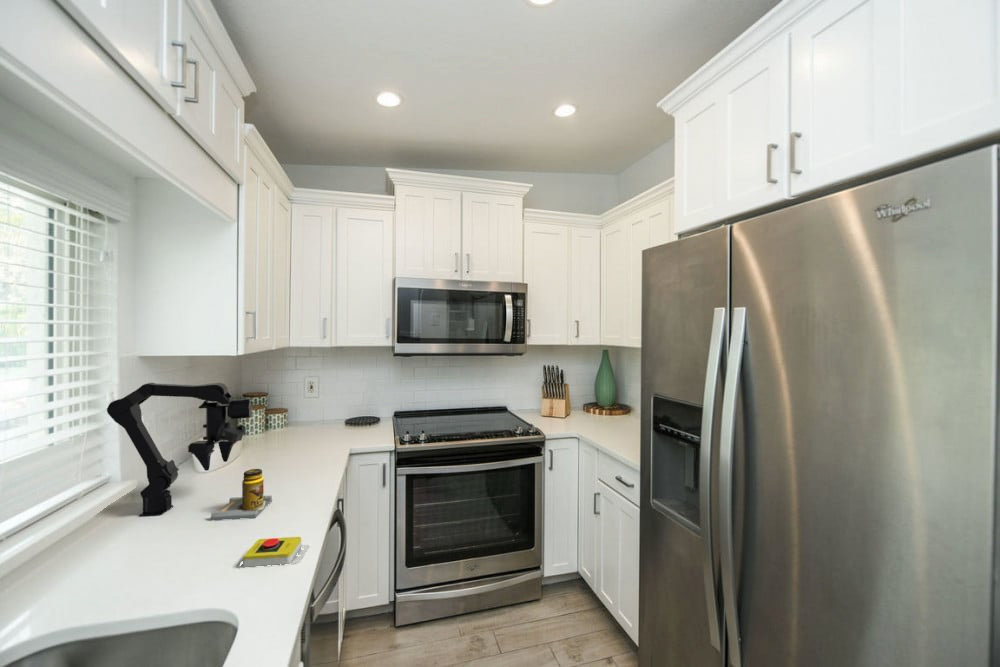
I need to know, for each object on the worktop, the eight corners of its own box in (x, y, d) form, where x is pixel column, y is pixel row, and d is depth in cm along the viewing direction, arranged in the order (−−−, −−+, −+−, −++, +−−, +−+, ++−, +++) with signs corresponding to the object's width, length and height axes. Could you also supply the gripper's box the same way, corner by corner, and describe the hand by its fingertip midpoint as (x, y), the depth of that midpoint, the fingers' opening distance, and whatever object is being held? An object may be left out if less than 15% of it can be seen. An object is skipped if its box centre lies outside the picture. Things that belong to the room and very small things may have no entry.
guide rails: (211, 517, 129) (211, 513, 129) (231, 501, 141) (231, 497, 141) (255, 514, 130) (255, 510, 130) (271, 498, 143) (271, 495, 143)
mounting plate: (210, 520, 128) (210, 516, 128) (231, 503, 141) (231, 500, 141) (255, 518, 130) (255, 514, 130) (272, 501, 143) (272, 497, 143)
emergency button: (252, 534, 112) (310, 531, 114) (252, 550, 112) (310, 547, 114) (235, 552, 102) (298, 548, 104) (235, 570, 102) (298, 566, 104)
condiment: (263, 509, 134) (263, 472, 134) (232, 514, 131) (232, 476, 131) (265, 501, 141) (265, 466, 141) (236, 505, 137) (236, 469, 137)
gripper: (221, 426, 132) (221, 475, 132) (256, 414, 150) (256, 457, 150) (186, 426, 132) (186, 475, 132) (225, 414, 150) (225, 457, 150)
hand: (216, 465), depth 141 cm, fingers open, 9 cm apart
